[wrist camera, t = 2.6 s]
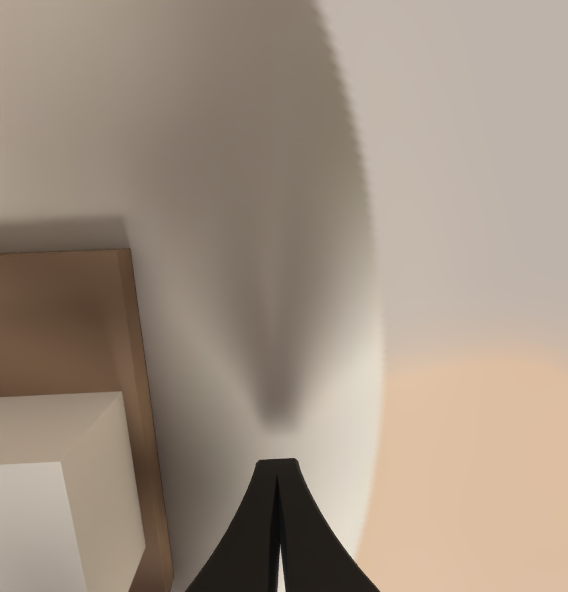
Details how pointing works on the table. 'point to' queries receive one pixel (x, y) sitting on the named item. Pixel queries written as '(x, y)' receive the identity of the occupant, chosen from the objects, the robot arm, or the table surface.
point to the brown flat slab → (86, 361)
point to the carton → (67, 495)
